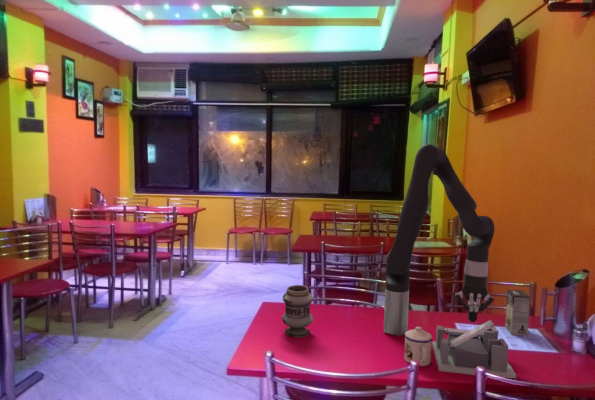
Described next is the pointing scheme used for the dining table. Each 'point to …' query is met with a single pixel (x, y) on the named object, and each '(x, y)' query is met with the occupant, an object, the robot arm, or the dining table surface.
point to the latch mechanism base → (473, 354)
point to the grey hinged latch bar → (458, 332)
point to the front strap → (471, 334)
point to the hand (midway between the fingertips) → (472, 321)
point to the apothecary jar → (297, 310)
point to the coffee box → (517, 312)
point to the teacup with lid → (418, 346)
